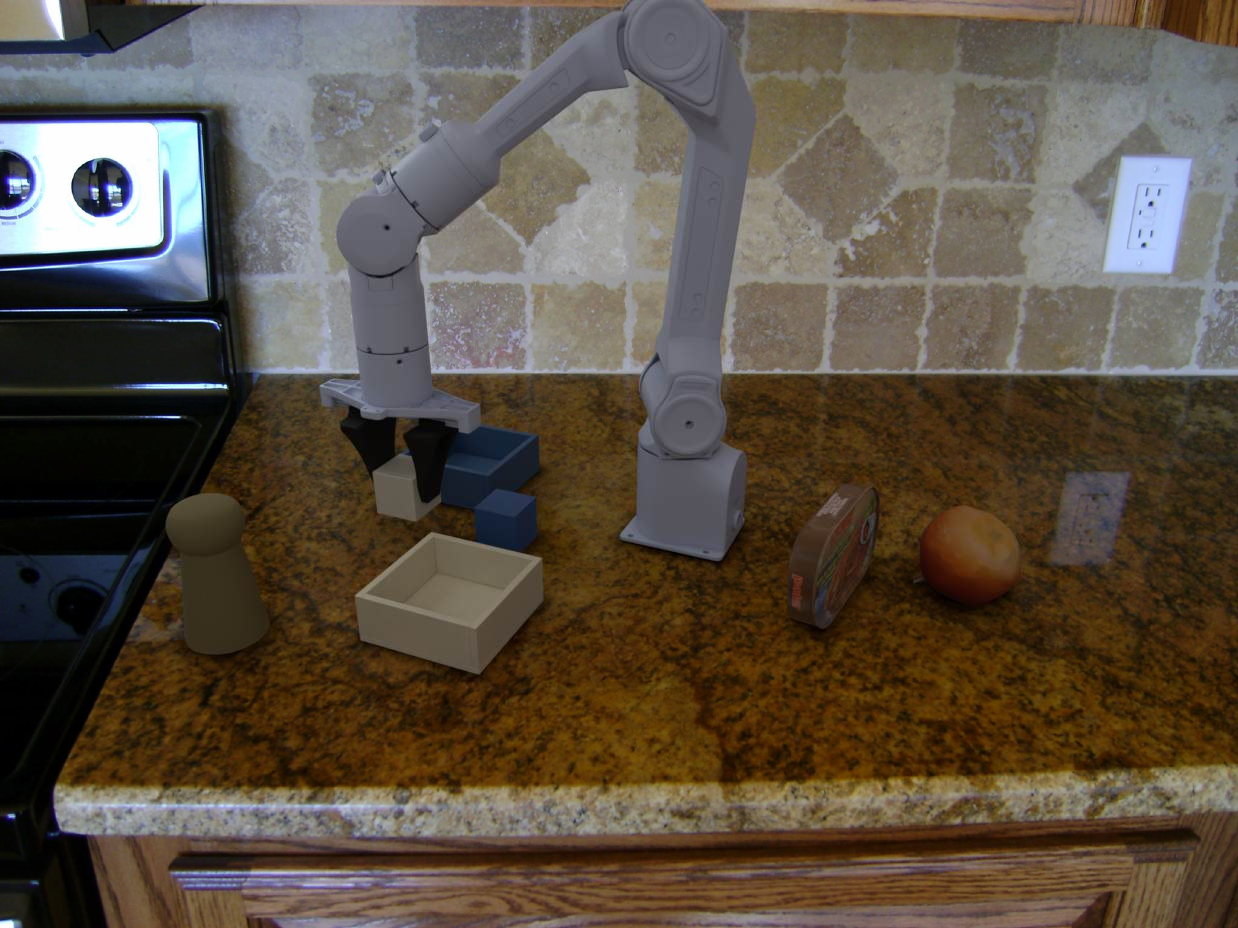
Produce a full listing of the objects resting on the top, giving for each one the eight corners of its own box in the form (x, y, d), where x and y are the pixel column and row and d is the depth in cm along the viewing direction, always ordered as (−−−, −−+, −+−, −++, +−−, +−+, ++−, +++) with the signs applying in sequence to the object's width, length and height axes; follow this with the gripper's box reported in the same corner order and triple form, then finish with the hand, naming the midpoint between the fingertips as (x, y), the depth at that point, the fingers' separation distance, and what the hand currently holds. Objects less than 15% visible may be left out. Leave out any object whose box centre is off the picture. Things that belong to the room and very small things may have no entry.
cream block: (441, 501, 83) (438, 461, 81) (416, 522, 79) (412, 480, 78) (403, 493, 84) (399, 453, 82) (377, 513, 81) (372, 471, 79)
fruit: (925, 532, 82) (983, 478, 77) (989, 602, 80) (1055, 552, 74) (875, 566, 77) (934, 511, 71) (943, 642, 75) (1009, 591, 69)
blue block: (537, 536, 84) (536, 496, 82) (516, 557, 80) (514, 517, 79) (498, 527, 85) (496, 488, 83) (476, 547, 82) (473, 507, 80)
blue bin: (540, 470, 96) (539, 434, 94) (490, 513, 87) (488, 475, 86) (454, 453, 99) (452, 418, 98) (399, 493, 91) (395, 456, 89)
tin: (813, 649, 69) (825, 552, 66) (773, 635, 71) (783, 539, 67) (877, 560, 81) (890, 473, 77) (842, 549, 82) (853, 464, 79)
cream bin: (543, 600, 75) (542, 557, 73) (479, 675, 66) (475, 628, 64) (434, 572, 78) (431, 531, 76) (360, 640, 70) (354, 595, 68)
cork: (242, 659, 67) (215, 527, 63) (167, 648, 68) (135, 517, 64) (285, 612, 73) (263, 487, 68) (215, 602, 74) (189, 478, 69)
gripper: (286, 346, 74) (310, 497, 80) (442, 371, 69) (455, 530, 75) (342, 322, 80) (360, 464, 86) (490, 344, 75) (498, 493, 81)
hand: (407, 493), depth 81 cm, fingers closed on cream block, 4 cm apart
